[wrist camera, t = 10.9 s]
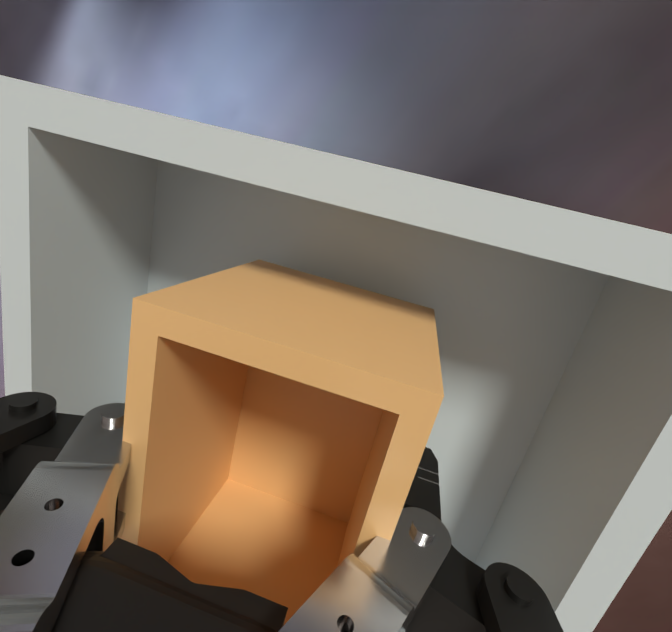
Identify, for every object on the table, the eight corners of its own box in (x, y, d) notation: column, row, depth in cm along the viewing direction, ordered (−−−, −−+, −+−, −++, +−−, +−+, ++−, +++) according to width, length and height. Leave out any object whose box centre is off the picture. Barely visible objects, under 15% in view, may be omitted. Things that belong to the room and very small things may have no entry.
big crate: (644, 243, 13) (826, 271, 7) (475, 589, 17) (501, 771, 12) (154, 124, 15) (-8, 73, 9) (128, 457, 20) (11, 556, 14)
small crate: (434, 309, 12) (444, 395, 6) (362, 524, 15) (326, 716, 9) (259, 259, 13) (133, 297, 7) (221, 472, 16) (109, 619, 10)
